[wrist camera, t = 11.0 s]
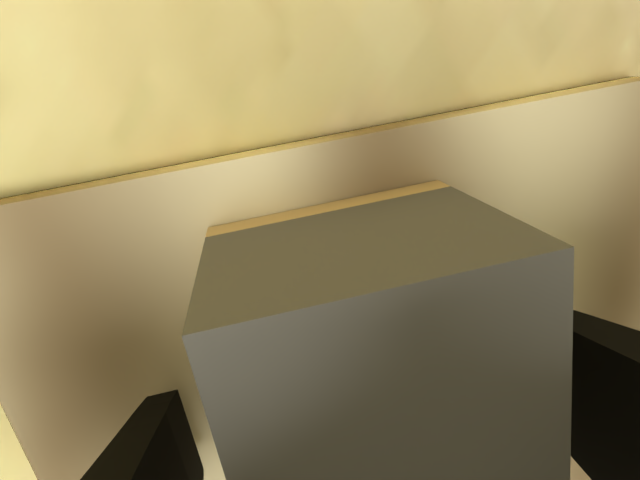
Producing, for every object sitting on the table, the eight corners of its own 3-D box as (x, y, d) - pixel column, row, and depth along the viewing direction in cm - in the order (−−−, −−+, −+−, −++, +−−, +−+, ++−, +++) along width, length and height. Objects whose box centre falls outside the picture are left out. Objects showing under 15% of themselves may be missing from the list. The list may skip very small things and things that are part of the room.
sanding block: (438, 179, 9) (573, 246, 5) (464, 487, 12) (567, 675, 8) (207, 227, 9) (181, 336, 5) (289, 535, 11) (312, 756, 8)
